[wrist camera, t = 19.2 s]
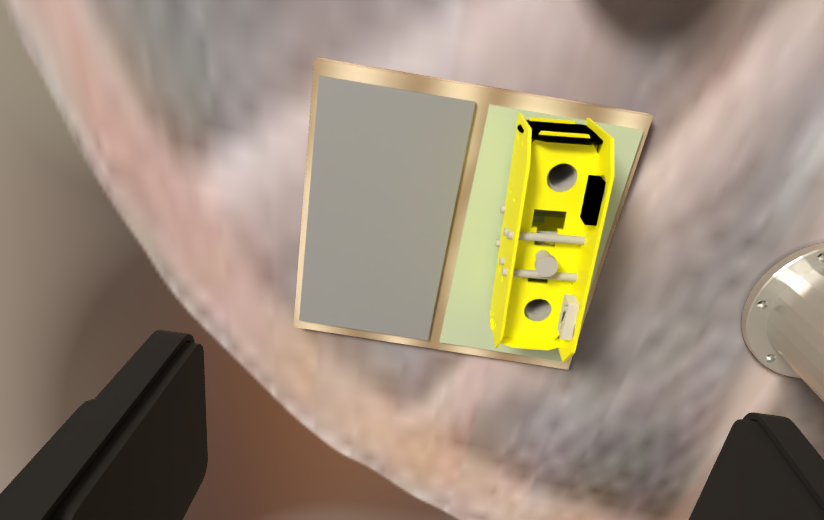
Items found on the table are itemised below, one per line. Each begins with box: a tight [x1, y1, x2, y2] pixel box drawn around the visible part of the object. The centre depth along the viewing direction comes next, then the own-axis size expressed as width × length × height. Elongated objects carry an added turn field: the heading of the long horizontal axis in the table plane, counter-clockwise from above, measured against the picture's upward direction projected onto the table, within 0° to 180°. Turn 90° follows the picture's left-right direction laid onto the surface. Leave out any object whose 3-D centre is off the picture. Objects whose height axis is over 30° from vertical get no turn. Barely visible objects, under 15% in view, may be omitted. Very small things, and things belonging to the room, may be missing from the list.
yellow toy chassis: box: [490, 113, 614, 362], centre depth 39 cm, size 16×6×8 cm, turn 176°
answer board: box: [294, 58, 653, 370], centre depth 45 cm, size 24×22×2 cm
